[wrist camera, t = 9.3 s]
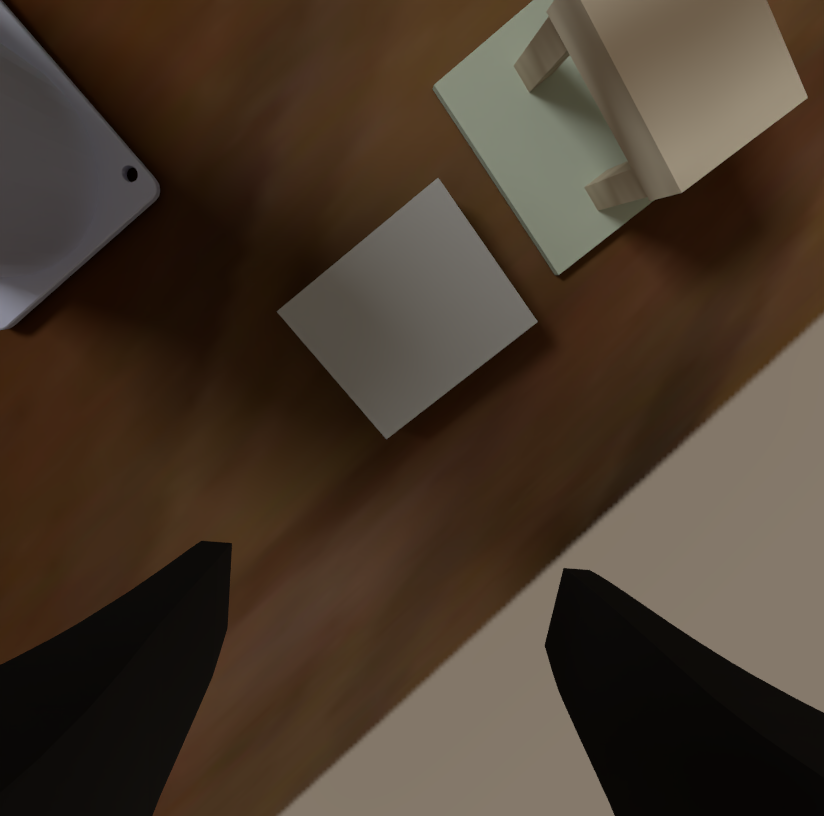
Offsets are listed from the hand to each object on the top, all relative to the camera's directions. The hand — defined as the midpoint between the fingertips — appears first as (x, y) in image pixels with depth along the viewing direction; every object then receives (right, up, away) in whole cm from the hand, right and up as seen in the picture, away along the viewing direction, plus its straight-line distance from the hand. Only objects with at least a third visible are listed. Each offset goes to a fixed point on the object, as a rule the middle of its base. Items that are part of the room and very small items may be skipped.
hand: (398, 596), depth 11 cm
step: (0, +8, +9) cm, 12 cm away
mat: (+7, +15, +7) cm, 18 cm away
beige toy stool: (+7, +15, +7) cm, 18 cm away
